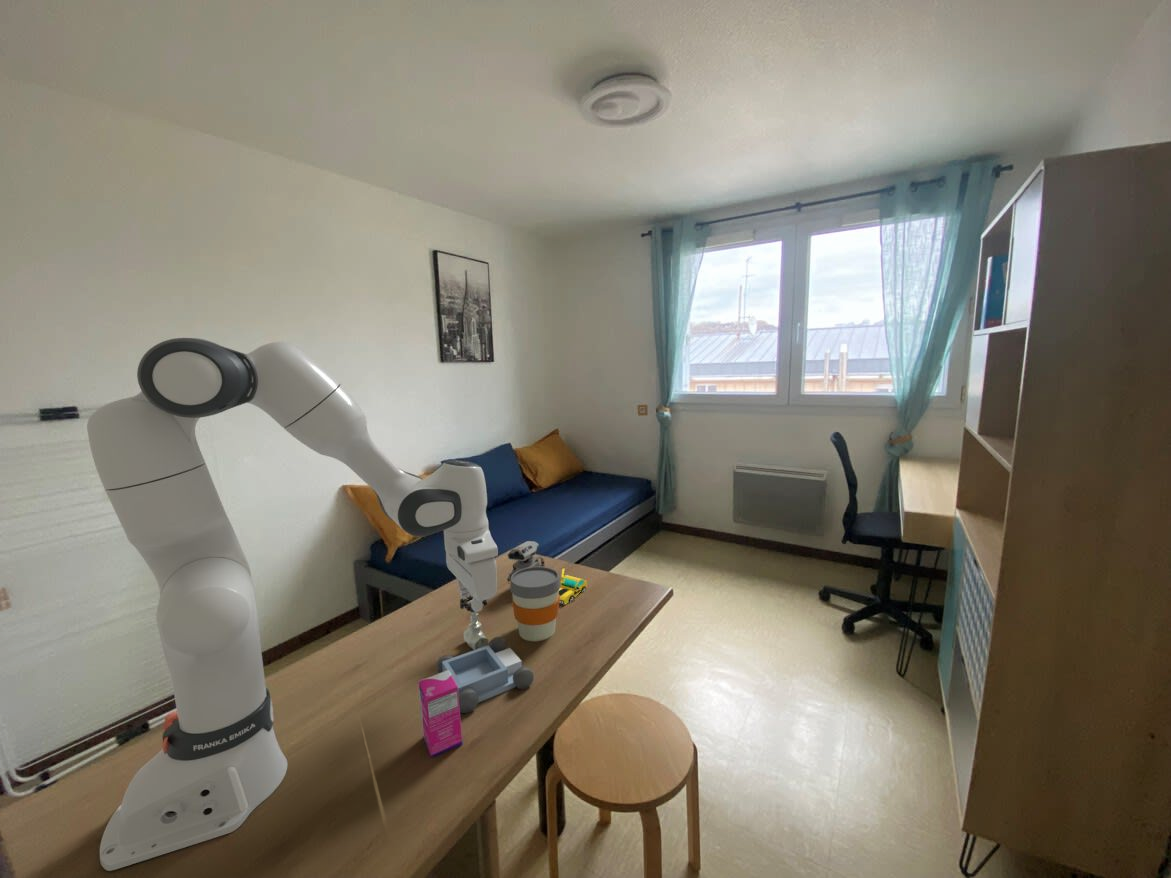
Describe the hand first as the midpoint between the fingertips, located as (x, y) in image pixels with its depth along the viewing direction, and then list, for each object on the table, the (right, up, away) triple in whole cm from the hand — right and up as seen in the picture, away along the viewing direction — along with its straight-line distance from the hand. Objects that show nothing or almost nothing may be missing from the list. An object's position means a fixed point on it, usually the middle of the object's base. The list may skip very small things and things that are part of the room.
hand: (471, 603), depth 97 cm
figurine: (+6, -12, +44) cm, 46 cm away
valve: (-3, -16, +16) cm, 23 cm away
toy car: (+19, -13, +40) cm, 46 cm away
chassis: (+2, -18, +4) cm, 18 cm away
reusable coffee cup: (+11, -15, +22) cm, 29 cm away
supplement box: (-2, -20, -13) cm, 24 cm away
